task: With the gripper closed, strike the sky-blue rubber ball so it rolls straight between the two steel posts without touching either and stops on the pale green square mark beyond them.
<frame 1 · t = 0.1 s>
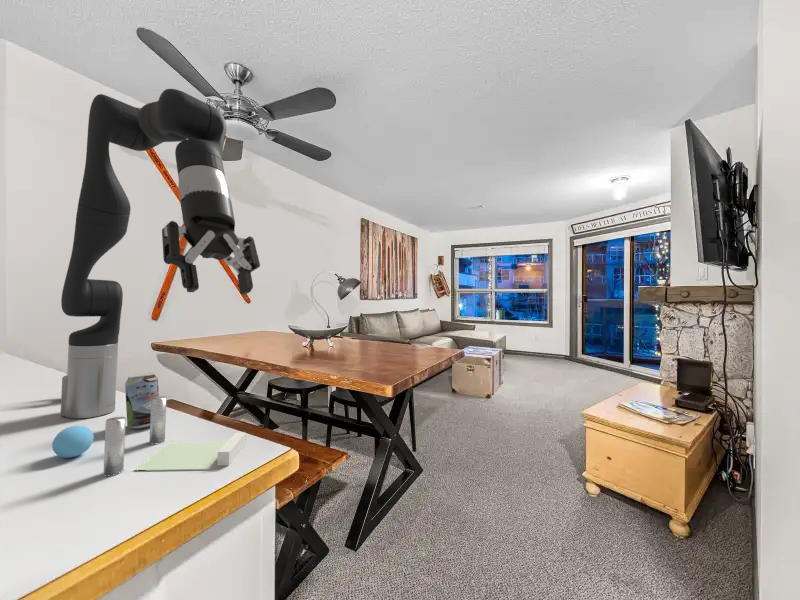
hand: (221, 291, 54), 31 cm above the kitchen counter, tool tilted 20°, fingers open, 8 cm apart
ball: (73, 441, 63), on the kitchen counter
beverage can: (141, 427, 78), on the kitchen counter
post 2: (157, 441, 70), on the kitchen counter
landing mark: (188, 454, 65), on the kitchen counter
post 1: (113, 472, 58), on the kitchen counter
stopper wall: (232, 454, 66), on the kitchen counter
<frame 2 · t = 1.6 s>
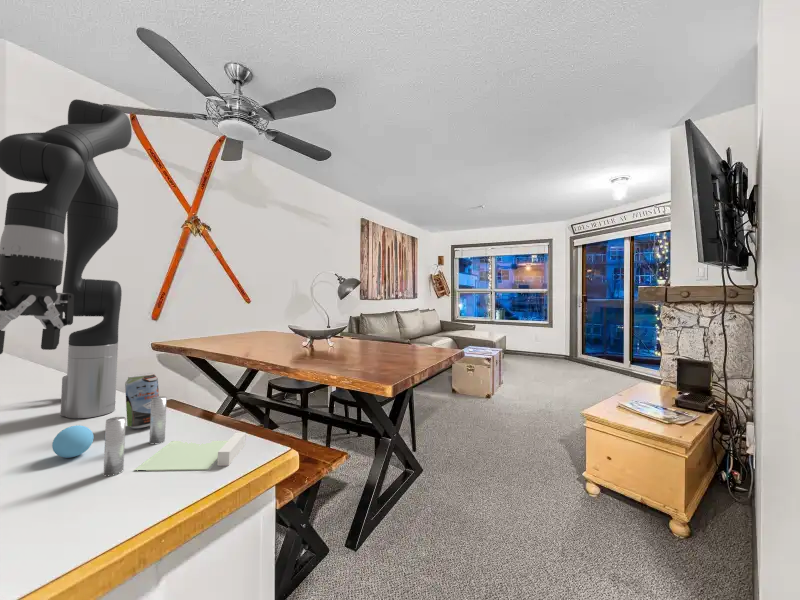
hand: (22, 351, 57), 20 cm above the kitchen counter, tool pointing down, fingers open, 8 cm apart
nothing on the kitchen counter moved.
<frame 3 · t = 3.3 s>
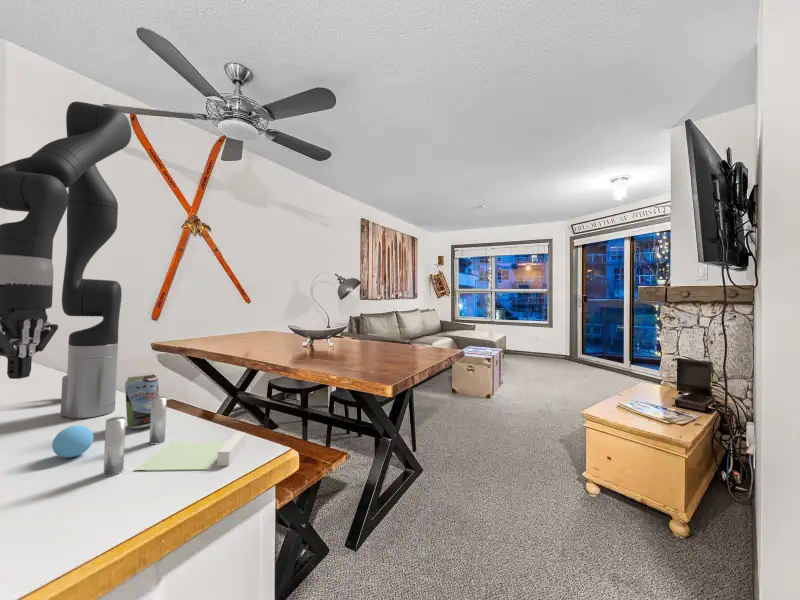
hand: (18, 377, 62), 14 cm above the kitchen counter, tool pointing down, fingers closed
nothing on the kitchen counter moved.
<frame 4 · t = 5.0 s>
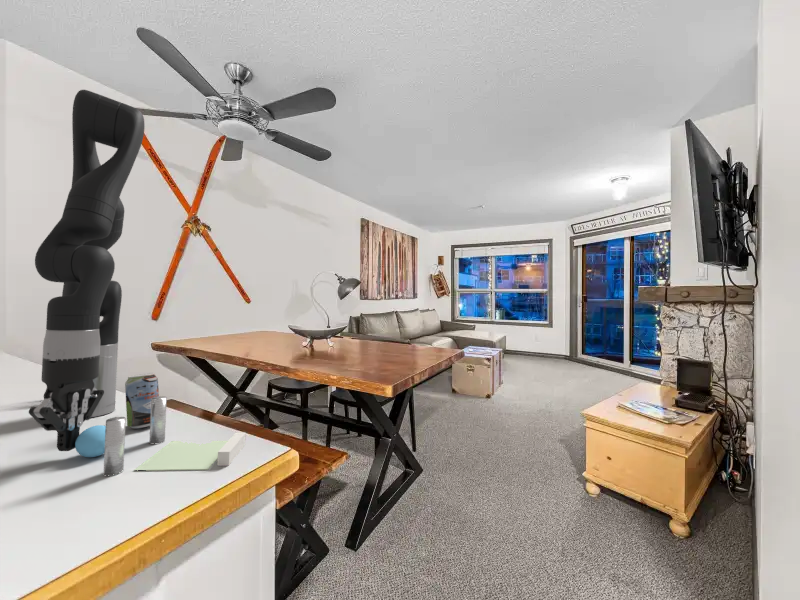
hand: (67, 449, 62), 2 cm above the kitchen counter, tool pointing down, fingers closed
ball: (95, 441, 63), on the kitchen counter
everything else where it was.
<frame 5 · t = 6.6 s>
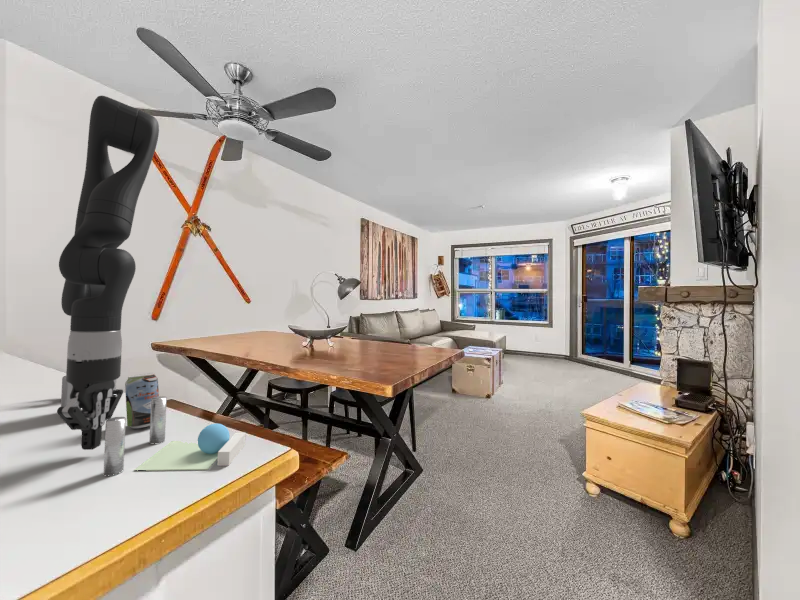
hand: (91, 447, 63), 2 cm above the kitchen counter, tool pointing down, fingers closed
ball: (213, 438, 67), on the kitchen counter
everything else where it was.
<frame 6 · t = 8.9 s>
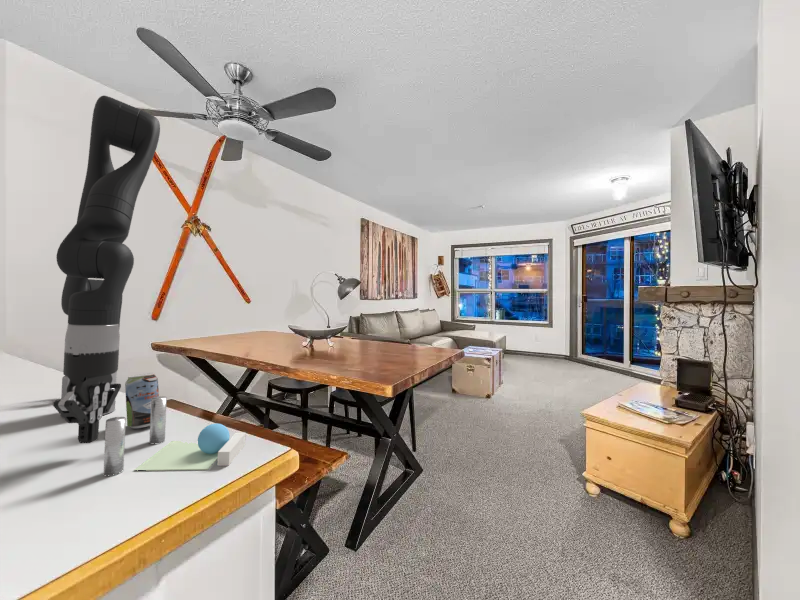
hand: (88, 441, 63), 3 cm above the kitchen counter, tool pointing down, fingers closed
nothing on the kitchen counter moved.
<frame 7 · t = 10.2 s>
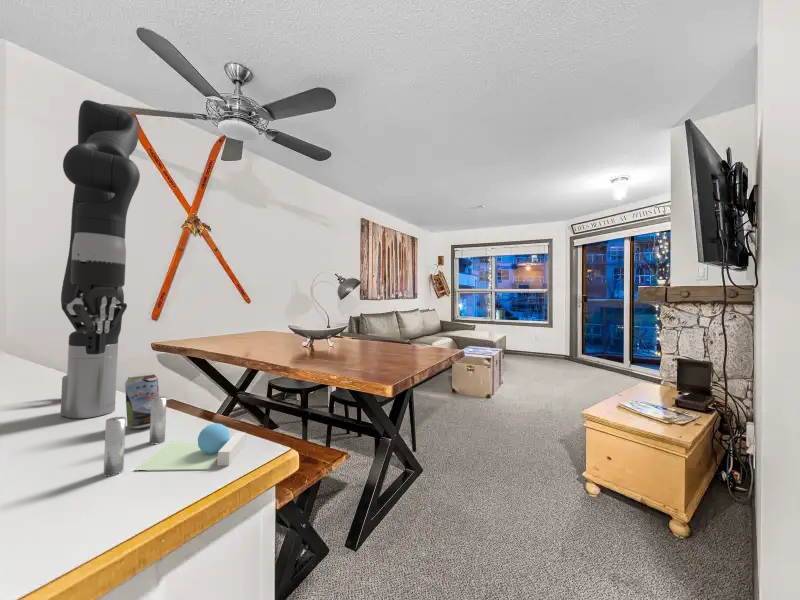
hand: (95, 353, 63), 19 cm above the kitchen counter, tool pointing down, fingers closed
nothing on the kitchen counter moved.
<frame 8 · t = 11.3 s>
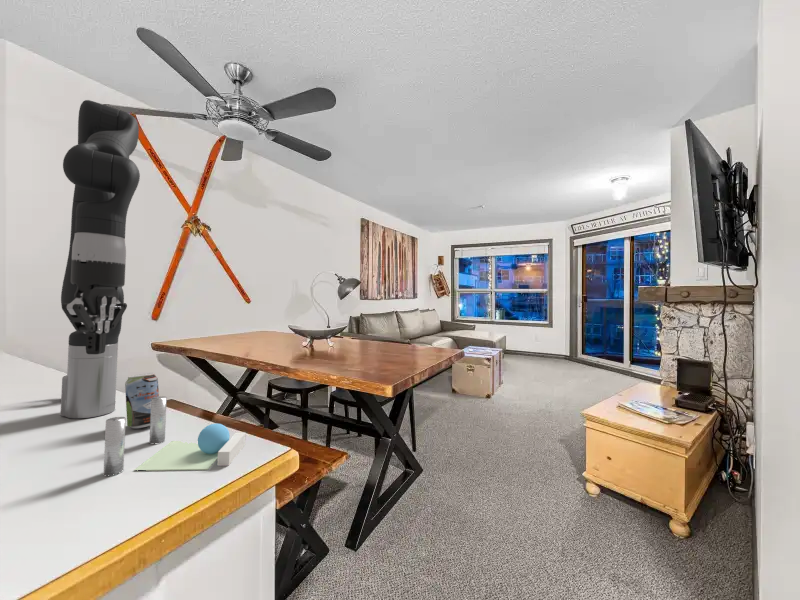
hand: (95, 353, 63), 19 cm above the kitchen counter, tool pointing down, fingers closed
nothing on the kitchen counter moved.
at the end: ball 4.2 cm from the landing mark (horizontally); ball never touched post 2; ball never touched post 1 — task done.
